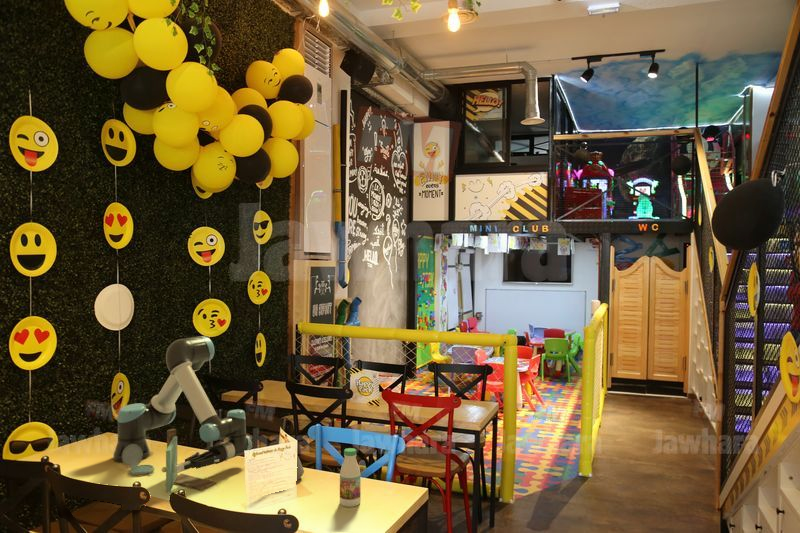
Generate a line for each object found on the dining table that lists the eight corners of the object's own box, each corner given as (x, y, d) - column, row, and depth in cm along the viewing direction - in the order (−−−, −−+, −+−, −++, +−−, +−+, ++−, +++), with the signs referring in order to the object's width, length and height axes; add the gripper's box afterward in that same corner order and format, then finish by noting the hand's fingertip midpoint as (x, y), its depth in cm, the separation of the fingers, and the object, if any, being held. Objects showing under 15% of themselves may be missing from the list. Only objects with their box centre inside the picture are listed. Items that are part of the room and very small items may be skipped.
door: (168, 475, 250) (168, 436, 249) (177, 474, 250) (177, 436, 250) (160, 492, 231) (160, 451, 231) (170, 492, 231) (170, 450, 231)
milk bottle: (339, 499, 228) (339, 446, 228) (360, 498, 229) (360, 446, 228) (339, 507, 220) (339, 453, 220) (360, 507, 221) (360, 452, 221)
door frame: (162, 480, 247) (162, 431, 247) (177, 474, 254) (177, 427, 254) (201, 490, 237) (201, 439, 236) (216, 484, 244) (216, 434, 243)
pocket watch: (140, 441, 266) (162, 446, 258) (140, 465, 266) (162, 472, 258) (119, 447, 257) (142, 452, 249) (119, 472, 257) (142, 479, 249)
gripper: (232, 464, 252) (187, 482, 231) (210, 459, 258) (164, 476, 238) (232, 446, 252) (187, 462, 231) (210, 441, 258) (164, 457, 238)
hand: (176, 469), depth 234 cm, fingers closed
